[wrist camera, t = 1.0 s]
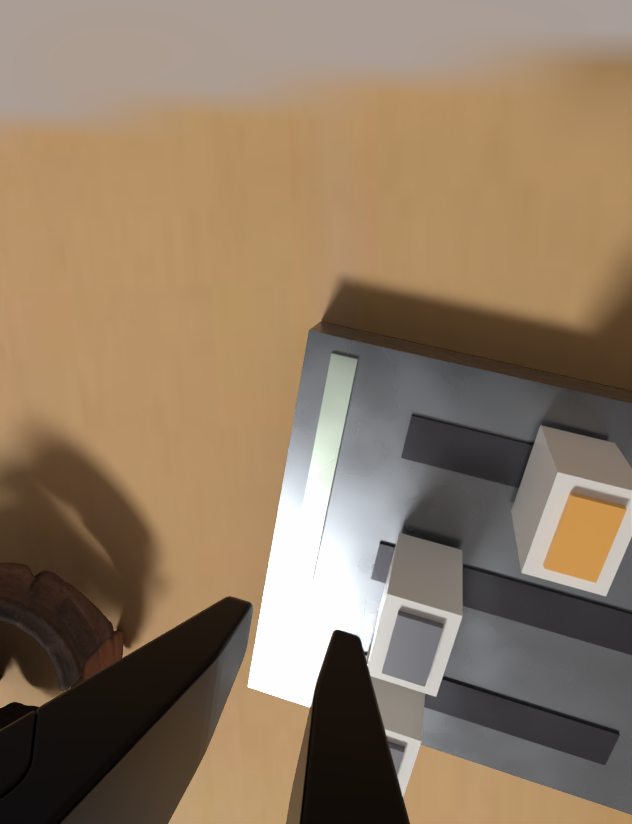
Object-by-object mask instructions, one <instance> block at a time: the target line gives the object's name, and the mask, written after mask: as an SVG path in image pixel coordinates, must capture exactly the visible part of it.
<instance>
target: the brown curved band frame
mask: <svg viewBox="0 0 632 824" xmlns="http://www.w3.org/2000/svg"><path fill="white" fill-rule="evenodd" d="M0 620H2V621H5V622H8V623H10V624H13V625H16V626H17V627H18V628H19V629H21V630H23V631H24V632H26V633H28V634H29V635H31V636H32V637H33V638H34V639H35V640H36V641H37V642H38V643H39V644H40V645H41V646H42V647H43V648H44V649H45V650H46V652H47V654H48V656H49V657H50V659H51V661H52V663H53V665H54V667H55V670H56V674H57V677H58V682H59V687H60V689H61V690H62V691H64V690H67V689H68V688H70V687H71V688H73V687H74V686H76V685H78V684H79V683H81V682H83V681H85V680H86V679H88V678H90V677H91V676H93V675H95V674H96V673H98V672H100V671H101V670H103V669H105V668H107V667H108V666H110V665H112V664H113V663H115V662H117V661H118V660H120V659H122V655H123V642H124V637H123V632H121V631H113V625H112V623H111V622H110V621H109V620H108V619H107V618H106V617H105V616H104V615H103V613H102V612H101V611H100V610H99V609H98V608H97V607H96V606H95V605H94V604H93V603H91V602H90V601H89V600H88V599H87V598H86V597H85V596H84V595H83V594H82V593H81V592H79V591H78V590H77V589H76V588H74V587H73V586H72V585H70V584H69V583H67V582H65V581H64V580H62V579H61V578H59V577H58V576H57V575H56V574H54V573H52V572H50V571H47V570H46V571H42V572H40V573H39V574H37V575H36V576H34V575H33V574H32V572H31V569H30V568H29V567H28V566H27V565H23V564H16V563H0ZM0 680H1V675H0ZM38 708H39V707H37V706H27V705H23V704H21V703H17V702H13V703H10V704H8V705H6V706H5V707H3V708H0V730H1V729H2V728H4V727H6V726H8V725H9V724H11V723H13V722H15V721H16V720H18V719H20V718H21V717H23V716H25V715H26V714H28V713H30V712H32V711H34V712H35V713H37V709H38Z"/></svg>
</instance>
